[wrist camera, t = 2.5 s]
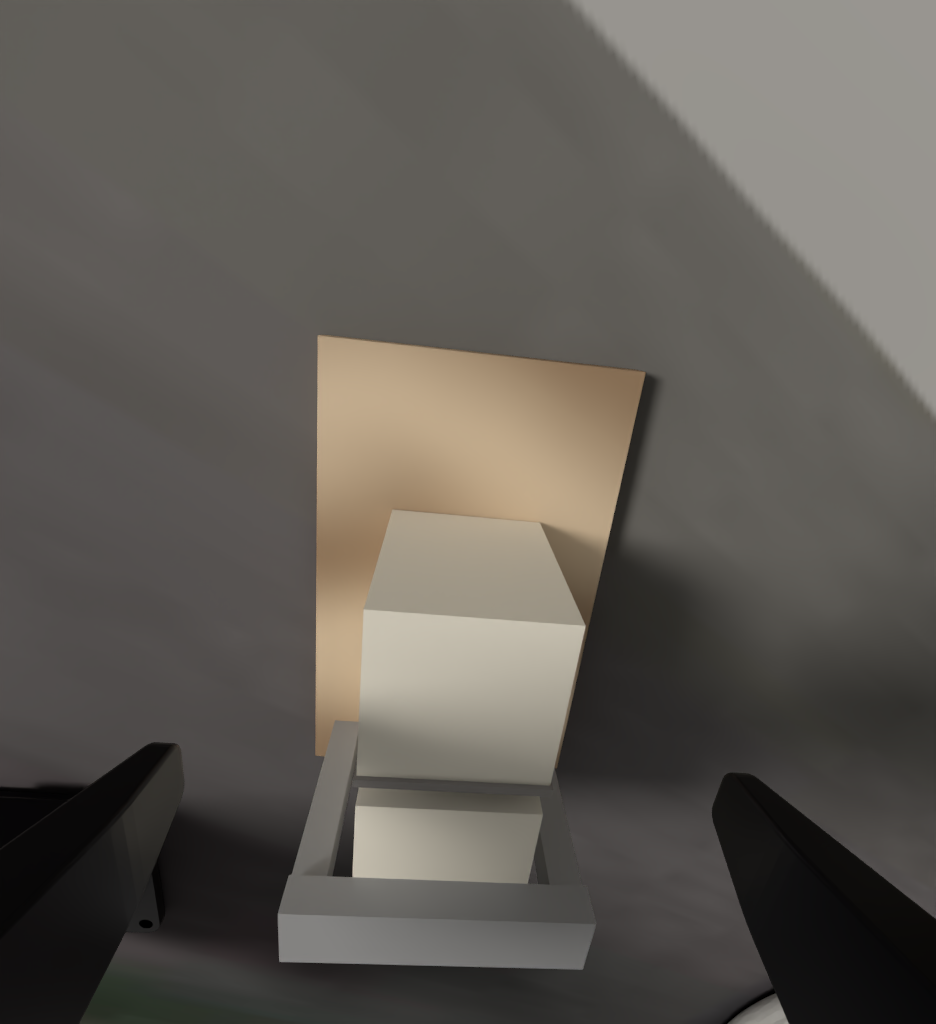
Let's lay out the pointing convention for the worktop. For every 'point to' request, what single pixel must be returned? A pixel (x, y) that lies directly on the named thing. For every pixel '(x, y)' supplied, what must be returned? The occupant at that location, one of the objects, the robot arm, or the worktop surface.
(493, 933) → the bracketed cream block
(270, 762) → the worktop surface
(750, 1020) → the supplement tub
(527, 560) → the stub
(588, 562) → the board
